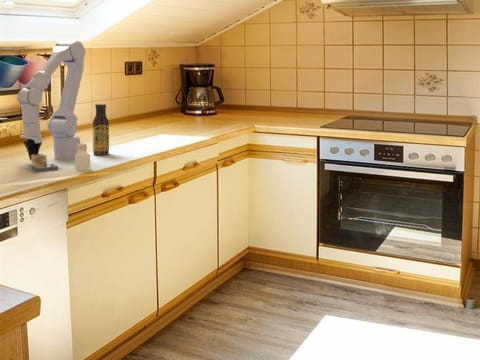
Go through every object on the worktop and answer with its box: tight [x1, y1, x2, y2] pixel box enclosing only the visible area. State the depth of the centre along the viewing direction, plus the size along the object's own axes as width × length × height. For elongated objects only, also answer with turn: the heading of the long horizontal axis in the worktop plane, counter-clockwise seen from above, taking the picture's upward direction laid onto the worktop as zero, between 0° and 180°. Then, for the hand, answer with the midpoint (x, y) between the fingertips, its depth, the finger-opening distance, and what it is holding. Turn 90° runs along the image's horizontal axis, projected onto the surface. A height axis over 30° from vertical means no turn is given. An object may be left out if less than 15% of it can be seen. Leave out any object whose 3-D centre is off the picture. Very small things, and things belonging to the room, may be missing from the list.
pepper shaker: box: [74, 143, 92, 172], centre depth 213 cm, size 4×4×10 cm
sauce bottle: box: [92, 103, 110, 156], centre depth 245 cm, size 7×6×20 cm
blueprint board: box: [21, 162, 63, 174], centre depth 216 cm, size 10×15×2 cm, turn 34°
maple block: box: [30, 153, 48, 168], centre depth 218 cm, size 4×4×4 cm
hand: (33, 160), depth 224 cm, fingers closed
